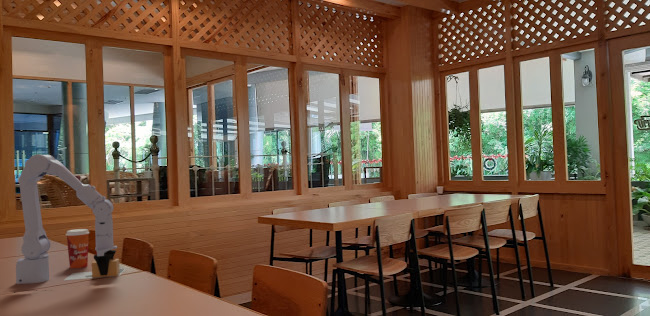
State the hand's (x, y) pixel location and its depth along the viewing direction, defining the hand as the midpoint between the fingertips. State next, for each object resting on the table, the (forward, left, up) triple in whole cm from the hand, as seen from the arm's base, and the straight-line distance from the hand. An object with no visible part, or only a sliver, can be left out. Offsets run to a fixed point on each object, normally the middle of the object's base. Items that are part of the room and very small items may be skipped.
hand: (105, 273), depth 179 cm
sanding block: (0, 0, -1) cm, 1 cm away
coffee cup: (-14, +21, -2) cm, 25 cm away
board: (-4, +3, -2) cm, 5 cm away
